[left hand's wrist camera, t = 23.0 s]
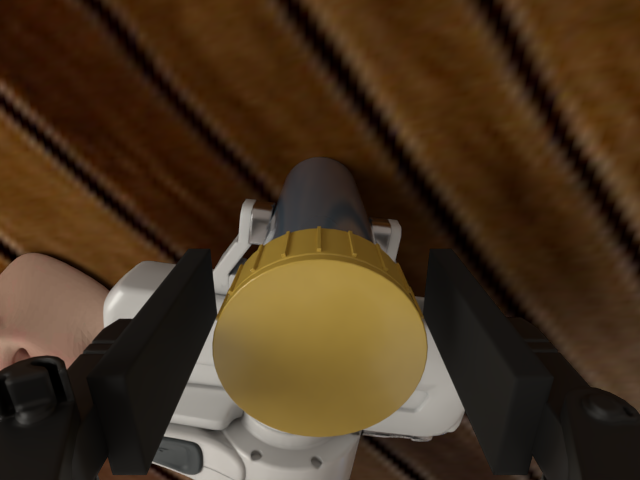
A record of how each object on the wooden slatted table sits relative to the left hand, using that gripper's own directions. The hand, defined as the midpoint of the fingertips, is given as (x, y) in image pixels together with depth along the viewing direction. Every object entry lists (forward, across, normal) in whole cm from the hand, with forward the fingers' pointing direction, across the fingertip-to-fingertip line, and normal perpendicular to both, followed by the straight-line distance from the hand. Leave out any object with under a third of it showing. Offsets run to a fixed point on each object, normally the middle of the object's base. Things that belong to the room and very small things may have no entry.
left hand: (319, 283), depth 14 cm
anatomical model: (+12, +19, +11) cm, 25 cm away
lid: (-4, 0, 0) cm, 4 cm away
